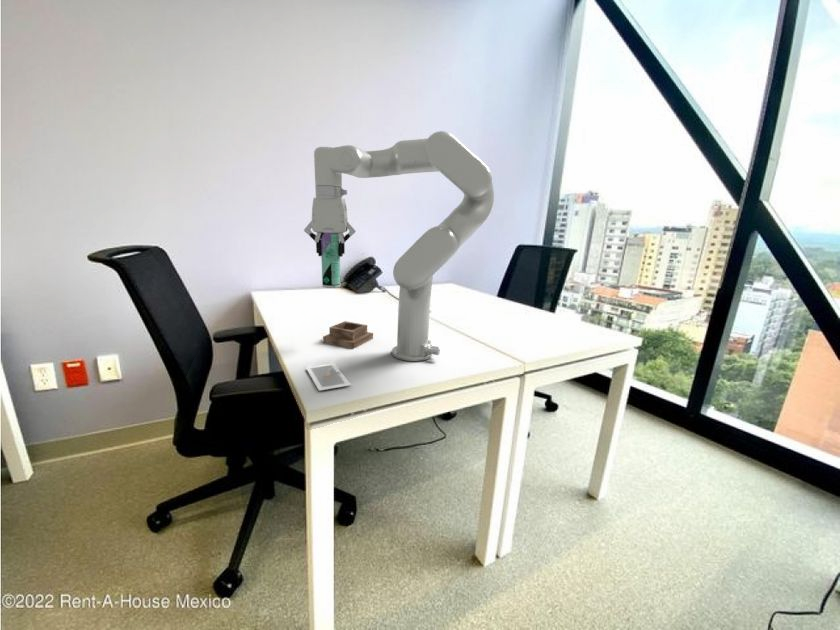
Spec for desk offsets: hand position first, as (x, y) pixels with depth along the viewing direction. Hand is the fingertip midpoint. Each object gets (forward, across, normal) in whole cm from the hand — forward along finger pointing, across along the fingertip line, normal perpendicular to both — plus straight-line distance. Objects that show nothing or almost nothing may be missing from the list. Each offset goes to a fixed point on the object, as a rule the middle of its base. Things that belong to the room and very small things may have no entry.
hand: (330, 255), depth 113 cm
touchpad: (+30, -2, +25) cm, 39 cm away
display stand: (+29, -4, -6) cm, 30 cm away
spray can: (+10, 0, 0) cm, 10 cm away
